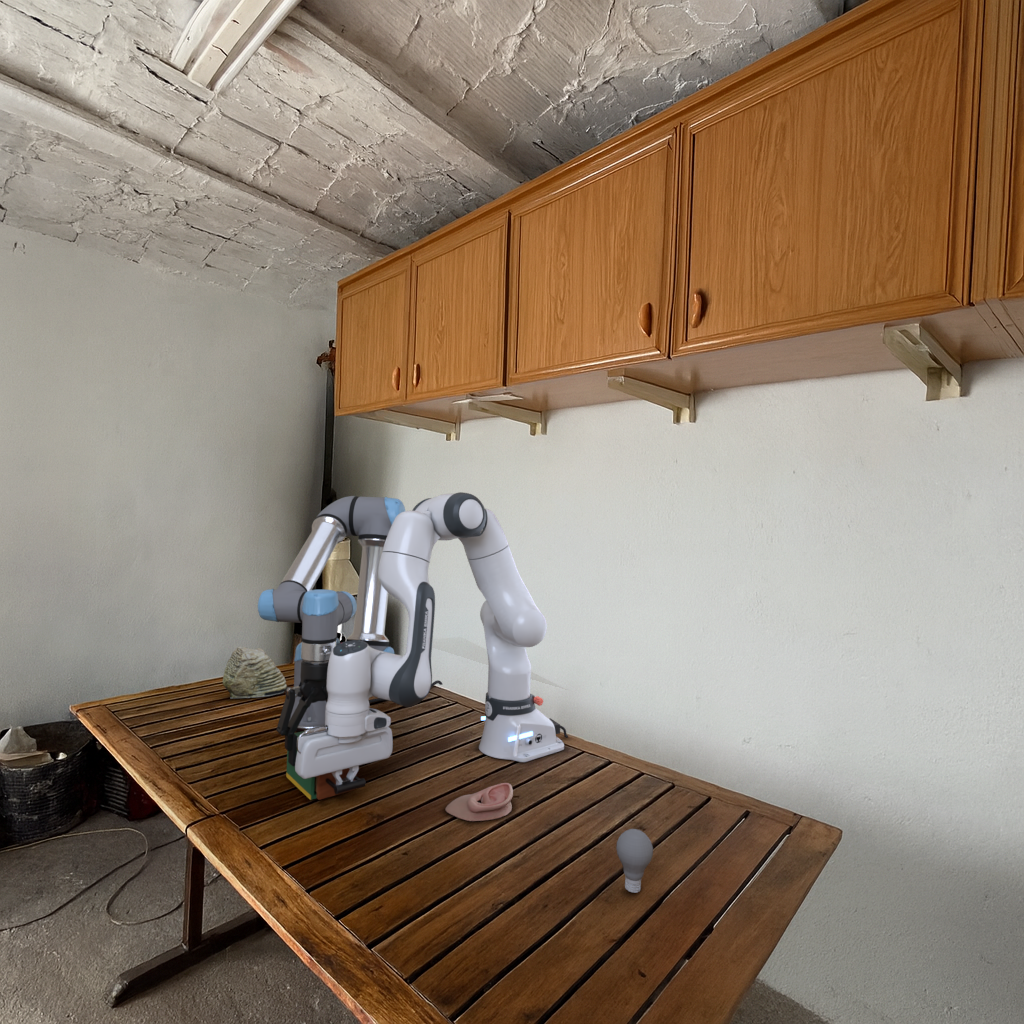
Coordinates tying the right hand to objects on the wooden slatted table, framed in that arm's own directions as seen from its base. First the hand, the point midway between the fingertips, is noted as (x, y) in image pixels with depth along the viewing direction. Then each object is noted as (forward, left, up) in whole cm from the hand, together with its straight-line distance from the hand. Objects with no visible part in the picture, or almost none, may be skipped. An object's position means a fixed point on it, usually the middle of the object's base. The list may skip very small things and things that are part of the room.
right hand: (344, 787), depth 131 cm
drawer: (+1, -6, -3) cm, 7 cm away
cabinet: (+2, -12, -4) cm, 13 cm away
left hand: (+3, -15, +1) cm, 15 cm away
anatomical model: (-25, +14, -4) cm, 28 cm away
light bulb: (-35, +49, -4) cm, 61 cm away
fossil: (+7, -81, -4) cm, 81 cm away
